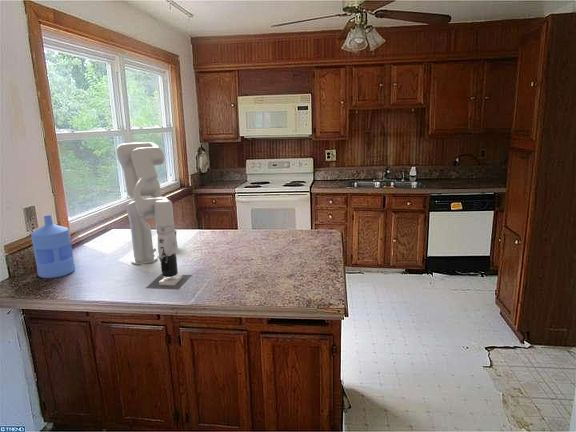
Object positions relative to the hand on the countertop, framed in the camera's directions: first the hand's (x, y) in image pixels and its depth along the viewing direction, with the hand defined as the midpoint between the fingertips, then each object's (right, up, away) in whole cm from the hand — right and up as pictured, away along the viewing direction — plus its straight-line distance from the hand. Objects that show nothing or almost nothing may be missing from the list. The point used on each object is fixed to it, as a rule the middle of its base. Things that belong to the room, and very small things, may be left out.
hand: (169, 267), depth 174 cm
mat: (0, -7, +2) cm, 7 cm away
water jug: (-59, -5, +16) cm, 61 cm away
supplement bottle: (0, -3, +1) cm, 3 cm away
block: (-3, -5, +2) cm, 6 cm away
